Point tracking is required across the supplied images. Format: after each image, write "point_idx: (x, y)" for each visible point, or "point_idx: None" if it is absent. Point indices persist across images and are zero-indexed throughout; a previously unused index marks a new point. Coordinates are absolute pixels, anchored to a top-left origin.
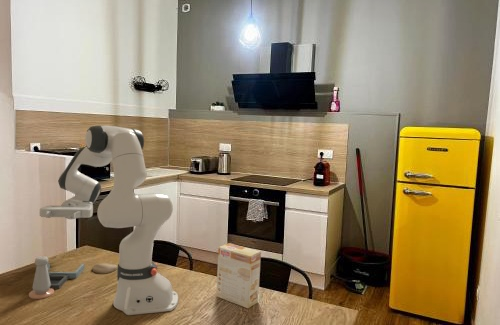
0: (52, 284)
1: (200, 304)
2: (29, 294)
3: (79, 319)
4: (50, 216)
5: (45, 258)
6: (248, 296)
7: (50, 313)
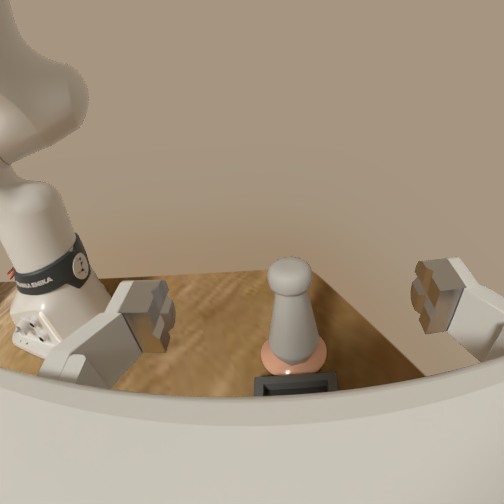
0: (277, 379)
1: (7, 312)
2: (320, 339)
3: (178, 276)
4: (422, 308)
5: (273, 264)
6: None
7: (234, 287)
